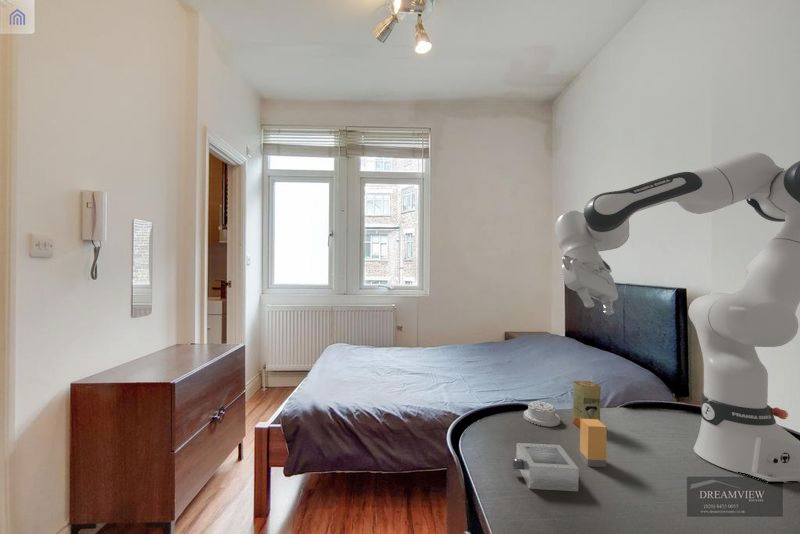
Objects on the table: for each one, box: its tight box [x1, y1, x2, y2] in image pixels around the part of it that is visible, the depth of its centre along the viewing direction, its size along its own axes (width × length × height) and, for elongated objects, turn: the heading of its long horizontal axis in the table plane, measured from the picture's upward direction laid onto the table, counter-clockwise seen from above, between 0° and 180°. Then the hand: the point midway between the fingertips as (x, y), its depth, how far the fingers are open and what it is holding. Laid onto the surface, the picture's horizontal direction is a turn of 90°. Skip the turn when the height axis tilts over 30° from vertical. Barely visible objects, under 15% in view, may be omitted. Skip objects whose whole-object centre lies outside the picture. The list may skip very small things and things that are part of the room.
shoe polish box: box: [572, 380, 602, 429], centre depth 101 cm, size 5×5×12 cm
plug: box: [579, 419, 608, 468], centre depth 83 cm, size 4×4×9 cm
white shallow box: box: [511, 442, 580, 492], centre depth 77 cm, size 12×10×4 cm
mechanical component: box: [523, 400, 561, 428], centre depth 106 cm, size 10×4×10 cm
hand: (600, 310), depth 91 cm, fingers open, 8 cm apart
